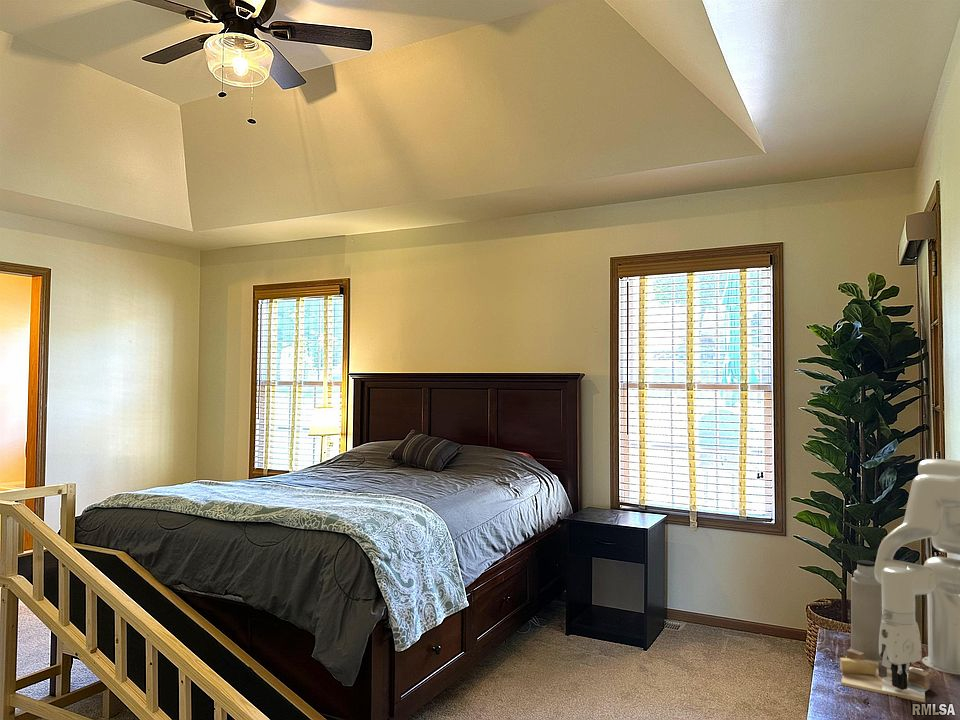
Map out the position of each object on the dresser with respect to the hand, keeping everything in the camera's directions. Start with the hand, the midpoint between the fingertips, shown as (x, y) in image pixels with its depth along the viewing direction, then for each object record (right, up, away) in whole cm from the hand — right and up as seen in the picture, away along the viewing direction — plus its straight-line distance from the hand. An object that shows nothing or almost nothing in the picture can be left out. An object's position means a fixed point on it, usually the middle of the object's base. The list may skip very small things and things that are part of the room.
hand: (899, 687), depth 182 cm
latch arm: (-5, -1, +11) cm, 12 cm away
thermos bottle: (+6, -3, +26) cm, 27 cm away
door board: (+1, -2, +9) cm, 10 cm away
